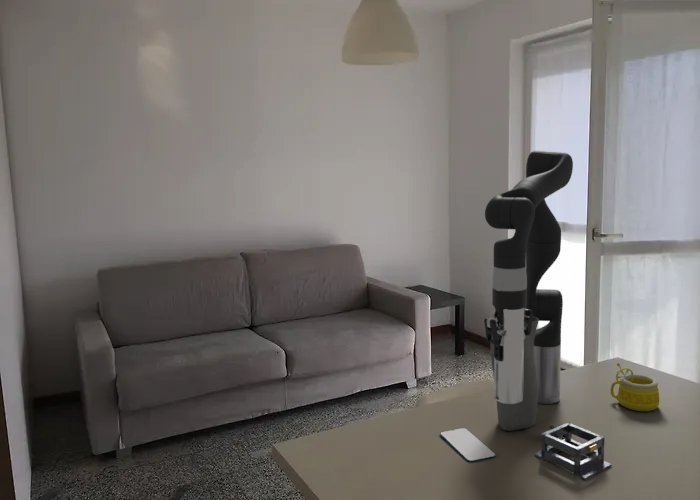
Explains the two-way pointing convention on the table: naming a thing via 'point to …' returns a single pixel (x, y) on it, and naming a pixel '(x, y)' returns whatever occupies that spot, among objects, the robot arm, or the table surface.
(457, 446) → the smartphone
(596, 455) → the collar bracket
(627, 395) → the mug
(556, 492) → the table surface
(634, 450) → the table surface
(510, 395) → the silver metal cylinder
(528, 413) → the vase
